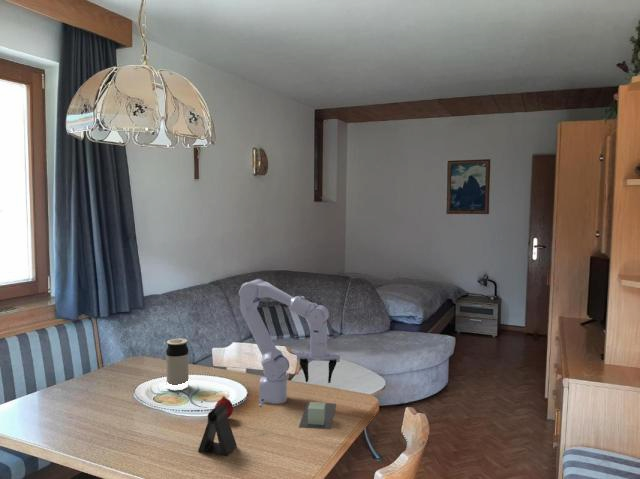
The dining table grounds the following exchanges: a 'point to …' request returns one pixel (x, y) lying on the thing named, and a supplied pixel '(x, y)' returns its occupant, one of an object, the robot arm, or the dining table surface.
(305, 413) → the base plate
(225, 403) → the onion
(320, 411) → the sage green cube
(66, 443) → the dining table surface
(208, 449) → the phone stand
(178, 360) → the travel mug
